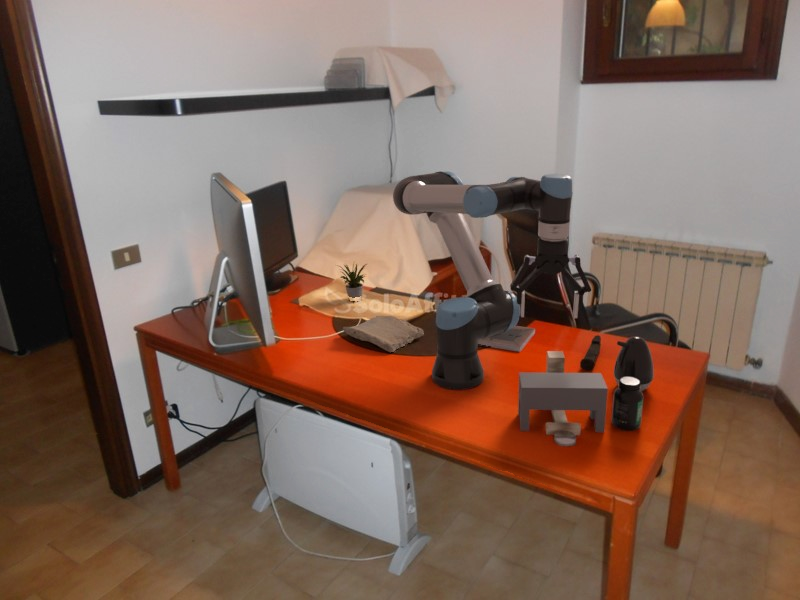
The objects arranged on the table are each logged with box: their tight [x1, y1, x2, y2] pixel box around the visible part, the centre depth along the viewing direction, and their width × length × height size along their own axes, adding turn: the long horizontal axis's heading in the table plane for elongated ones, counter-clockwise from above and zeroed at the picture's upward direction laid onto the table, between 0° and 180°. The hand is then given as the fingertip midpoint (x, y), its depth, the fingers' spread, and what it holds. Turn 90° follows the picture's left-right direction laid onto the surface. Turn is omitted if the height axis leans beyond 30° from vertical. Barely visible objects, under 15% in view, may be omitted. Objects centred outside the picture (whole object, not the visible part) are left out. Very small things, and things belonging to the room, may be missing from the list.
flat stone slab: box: [342, 315, 425, 353], centre depth 205 cm, size 24×8×20 cm
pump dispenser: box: [613, 335, 655, 392], centre depth 163 cm, size 10×10×15 cm
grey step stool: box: [517, 371, 609, 433], centre depth 148 cm, size 20×8×12 cm, turn 84°
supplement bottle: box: [611, 377, 644, 432], centre depth 146 cm, size 7×7×12 cm
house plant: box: [336, 262, 368, 298], centre depth 241 cm, size 14×14×16 cm
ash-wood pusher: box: [545, 350, 582, 436], centre depth 152 cm, size 8×20×14 cm, turn 174°
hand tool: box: [579, 334, 602, 372], centre depth 183 cm, size 19×4×5 cm, turn 151°
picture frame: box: [478, 325, 536, 353], centre depth 202 cm, size 16×2×22 cm
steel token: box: [553, 430, 577, 448], centre depth 143 cm, size 5×5×2 cm
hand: (548, 315), depth 157 cm, fingers open, 13 cm apart
